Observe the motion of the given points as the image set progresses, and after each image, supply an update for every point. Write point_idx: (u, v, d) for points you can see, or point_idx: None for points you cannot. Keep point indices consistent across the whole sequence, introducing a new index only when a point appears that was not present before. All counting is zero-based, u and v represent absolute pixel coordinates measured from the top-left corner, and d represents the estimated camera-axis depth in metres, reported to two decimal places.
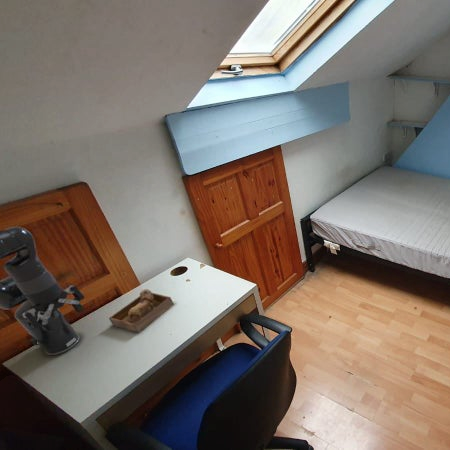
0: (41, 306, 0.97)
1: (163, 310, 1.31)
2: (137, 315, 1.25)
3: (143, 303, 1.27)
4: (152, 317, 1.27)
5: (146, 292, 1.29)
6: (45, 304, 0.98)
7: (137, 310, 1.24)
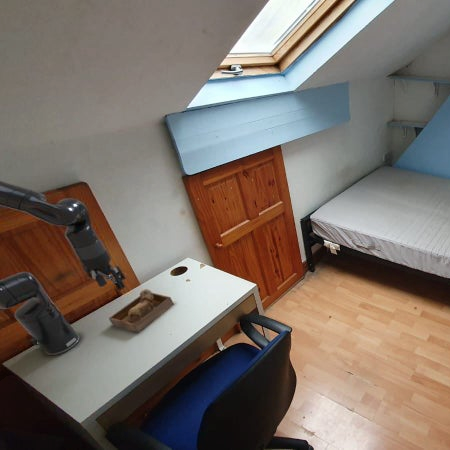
0: None
1: (163, 310, 1.31)
2: (137, 315, 1.25)
3: (143, 303, 1.27)
4: (152, 317, 1.27)
5: (146, 292, 1.29)
6: None
7: (137, 310, 1.24)
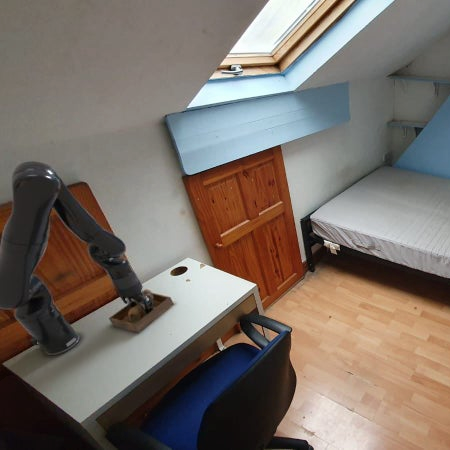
0: None
1: (163, 310, 1.31)
2: (137, 315, 1.25)
3: None
4: (152, 317, 1.27)
5: (146, 292, 1.29)
6: None
7: (137, 310, 1.24)
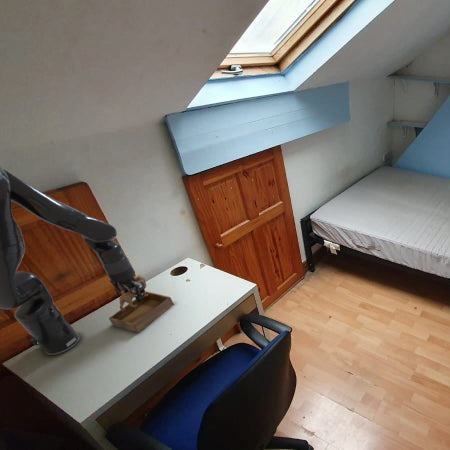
0: None
1: (163, 310, 1.31)
2: (129, 301, 1.22)
3: None
4: (152, 317, 1.27)
5: (139, 278, 1.26)
6: None
7: (129, 296, 1.21)
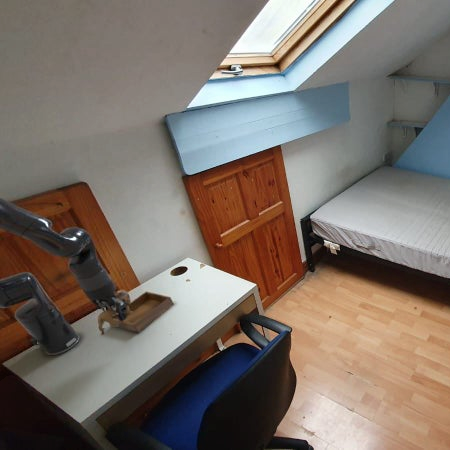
0: None
1: (163, 310, 1.31)
2: (109, 320, 1.07)
3: None
4: (152, 317, 1.27)
5: (122, 294, 1.12)
6: None
7: (109, 315, 1.07)
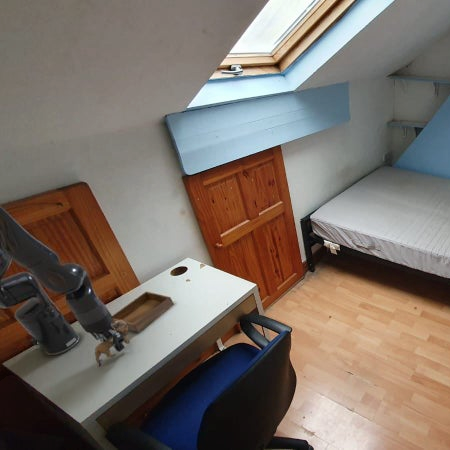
0: None
1: (163, 310, 1.31)
2: (106, 352, 1.07)
3: None
4: (152, 317, 1.27)
5: (119, 324, 1.12)
6: None
7: (106, 346, 1.07)
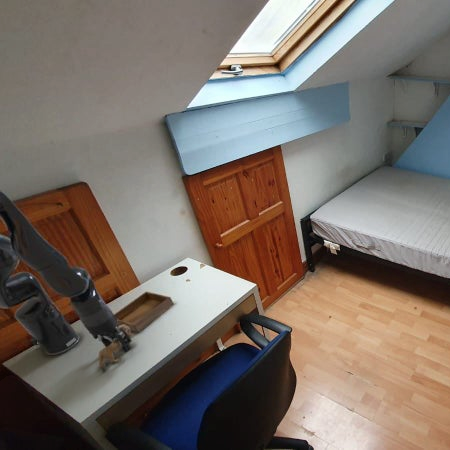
0: None
1: (163, 310, 1.31)
2: (109, 357, 1.09)
3: None
4: (152, 317, 1.27)
5: (122, 329, 1.13)
6: None
7: (109, 351, 1.08)
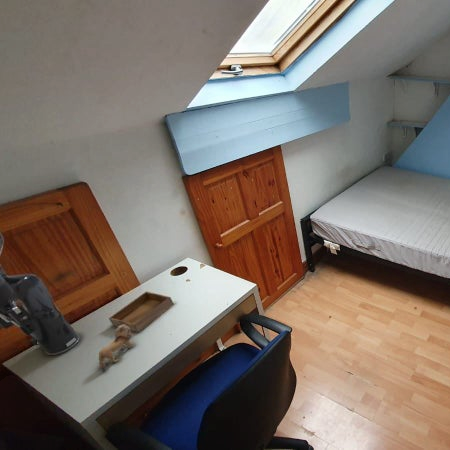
0: None
1: (163, 310, 1.31)
2: (109, 357, 1.09)
3: (118, 342, 1.11)
4: (152, 317, 1.27)
5: (122, 329, 1.13)
6: None
7: (109, 351, 1.08)
